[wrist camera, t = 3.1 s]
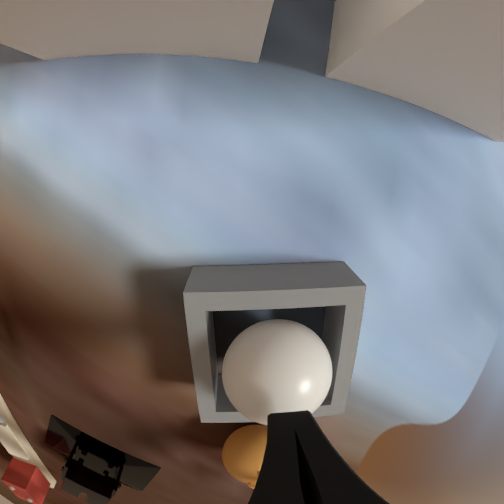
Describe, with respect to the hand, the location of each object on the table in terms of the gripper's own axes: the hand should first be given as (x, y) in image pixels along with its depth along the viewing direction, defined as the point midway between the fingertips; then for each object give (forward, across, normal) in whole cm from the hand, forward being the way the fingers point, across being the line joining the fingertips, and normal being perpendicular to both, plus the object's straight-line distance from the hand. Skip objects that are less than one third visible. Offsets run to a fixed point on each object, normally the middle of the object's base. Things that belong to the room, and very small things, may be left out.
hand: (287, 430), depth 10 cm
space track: (+7, +22, +10) cm, 25 cm away
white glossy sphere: (+6, 0, 0) cm, 6 cm away
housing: (+7, 0, 0) cm, 7 cm away
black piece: (+8, +13, +13) cm, 20 cm away
